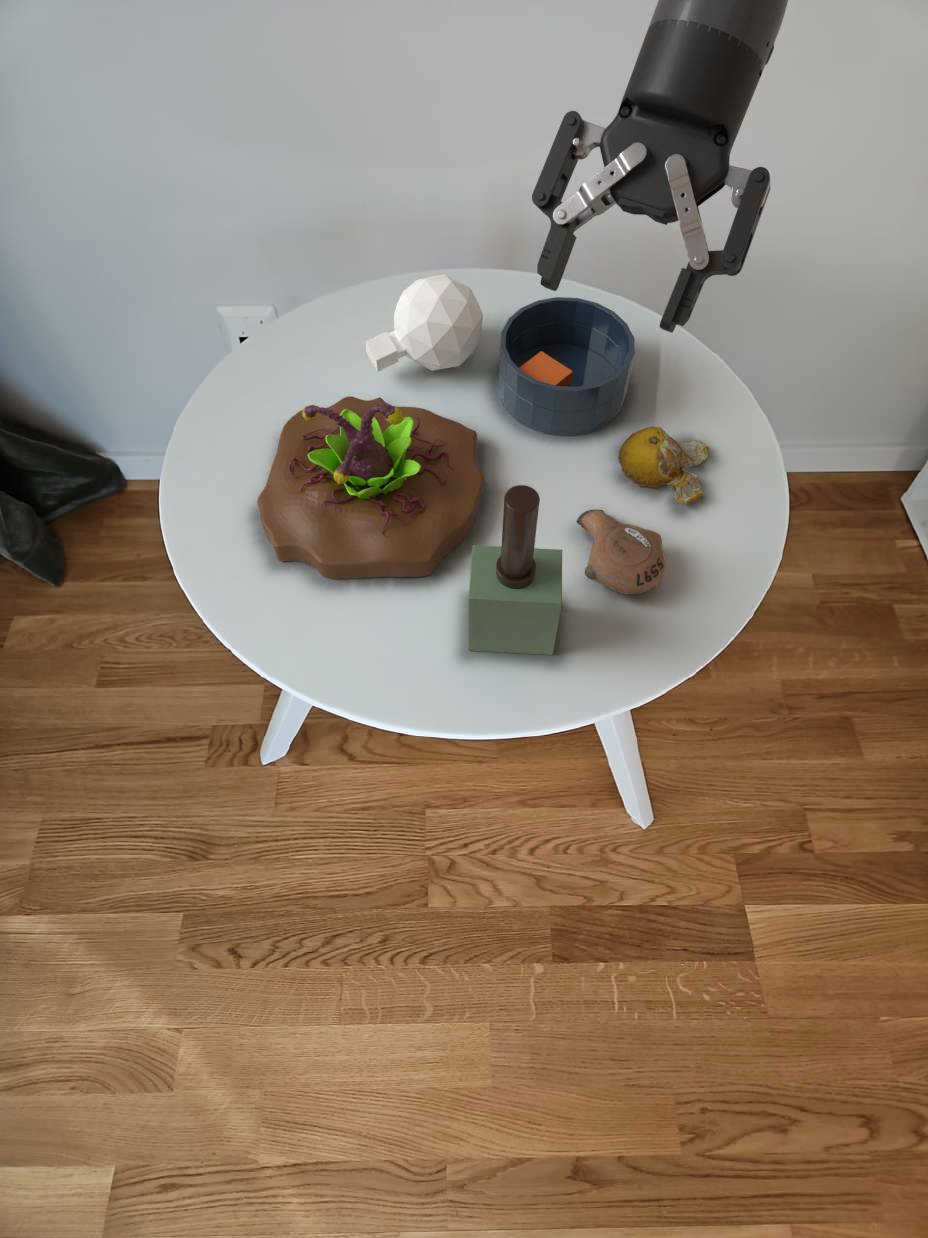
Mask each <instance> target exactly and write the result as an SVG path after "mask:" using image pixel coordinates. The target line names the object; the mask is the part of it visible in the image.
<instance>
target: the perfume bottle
mask: <svg viewBox="0 0 928 1238" xmlns="http://www.w3.org/2000/svg"><path fill="white" fill-rule="evenodd" d="M396 303H397V304H396V307H395V310H394V313H393V326H394V327H393V329H394V330H392V331H390V332H388V331H383V332H382V333H379V334H377V335H376V336H375V335H374V336H373V337H371V338H368V339H366V340H365V341H364V342H365V350H366V354H367V356H368V358H369V360H370V361H371V363H372V365H373V367H374V368H375V370H376V371H377V373H378V372H380V371H382V370H384V369H386V368H388V367H390V366H391V367H392V366H393V365H395V364H396V363H399V360H400V359H402V358H403V357H406V358H408V359H409V360H412V361H413V362H414V363H417V364H418V365H420V366H422V367H423V368H426V369H428V370H430V371H438V370H445V369H450V368H455V367H460V366H461V365H462V364H463V363H464V362H465V361H466V360H467V359H468V358H469V357H470V356H471V355H472V354H473V353H474V351H475V350H476V349H477V348H478V346H480V340H481V335H482V328H483V319H484V313H483V311H482V308H481V305H480V303H479V301H478V299H477V297H476V295H475V294H474V292H473V290H472V288H471V287H470V286H469V285H466V284H465V283H463V282H461V281H459V280H457V279H455V278H453V277H451V275H447V274H446V273H442V274H437V275H432V276H427V277H424V278H418V279H416V280H414V282H412V283H411V284H410V285H409V286H408V287H406V288H405V289H404V290H403V291H402V293H401V295H400V297H399V298H398V300H397V302H396Z"/></svg>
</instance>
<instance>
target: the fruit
mask: <svg viewBox="0 0 928 1238" xmlns="http://www.w3.org/2000/svg"><path fill="white" fill-rule="evenodd" d="M709 448H710V447H709V445H707V444H706V443H705V442H703V441H702V440H698V439H692V440H689V441H683V442H678V441H676V439H674V438H673V437H672V436H670V435H669V433H667V432H666V430H664V429H663V428H662V427H661V426H647V427H643V428H641V429H639V430H637V431H635V432H632V433H631V434H630V435H629V436H628V438H626V439H625V441H624V442H623V443H622V445H621V446H620V449H619V453H618V455H617V459H618V463H619V465H620V468H621V471H622V472H623V473H624V477H627V478H630V479H631V481H632V483H634V484H635V485H637V486H639V487H640V488H642V487H646V488H654V489H659V488H660V487H662V486H664V485H667V486H674V487H675V493H674V496H673V497H674V500H675V501H676V502H677V503H678V504H680V505H686V504H687V503H691V502H693V503H694V502H697V501H699V500H700V499H702V498H703V497H704V496H705V493H704V491H703V490H702V486H701V484H699V476H698V475H697V474H693V473H692V472H689V471H687V470H684V469H683V468H685V467H689V468H691V467H694V466H698V465H701V464H702V463H703V462H704V461H706V459H707V458H708V457H709V456H710V452H709Z"/></svg>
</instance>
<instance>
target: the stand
mask: <svg viewBox="0 0 928 1238" xmlns="http://www.w3.org/2000/svg"><path fill="white" fill-rule="evenodd" d="M500 556H501V546H499V545H497V546H496V545H480V544H479V545H477V544H473V545H472V546H471V560H470V574H469V587H468V588H469V589H468V612H467V613H468V614H467V615H468V616H467V617H468V620H467V623H468V627H467V628H468V631H467V635H468V636H467V650H468V651H471V652H473V651H474V652H490V653H491V652H492V653H510V654H525V655H527V654H529V655H542V656H543V655H546V656H553V655H554V651H555V645H556V640H557V633H558V628H559V623H560V617H561V611H562V606H563V550H562V549H557V548H556V549H554V548H537V547H534V555H533V558H534V560H535V563H536V572H535V578H534V580H533V581H532V583H531V584H530V585H528V586H527V587H525V588H521V589H511V588H508V587H506V586H504V585H502V584H501V583H500V582H499V580H498V579H497V576H496V564H497V560H498V558H499V557H500Z"/></svg>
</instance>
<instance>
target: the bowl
mask: <svg viewBox="0 0 928 1238" xmlns="http://www.w3.org/2000/svg"><path fill="white" fill-rule="evenodd" d="M635 343H636V342H635V336H634V334H633V333H632V331H631V329H630V326H629V325H628V323H627V322H626V321H625V320H624V319H623V318H622V317H621V316H619V315H618V314H617V313H616V312H615V311H614V310H612V309H610V308H608V307H606V306H604V305H603V304H600V303H598V302H596V301H591V300H587V299H585V298H584V299H583V298H580V297H566V296H565V297H564V296H563V297H562V296H555V297H550V298H545V299H539V300H536V301H533V302H530V303H528V304H527V305H525V306H522V307H521V308H519V309H518V310H517V311H516V312H514V313H513V314H512V315H511V316H510V317H508V319H507V321H506V322H505V324H504V326H503V328H502V330H501V331H500V344H499V365H498V368H499V369H498V371H499V372H498V385H497V386H498V394H499V398H500V402H501V403H502V405H503V407H504V409H505V410H506V411H507V413H508V414H509V415H510V416H511V417H512V418H514V420H515V421H517V422H518V423H520V424H521V425H523V426H525V427H526V428H528V429H530V430H532V431H536V432H539V433H542V434H546V435H550V436H560V437H573V436H580V435H584V434H589V433H591V432H594V431H597V430H599V429H601V428H603V427H605V426H606V425H608V424H609V423H610V422H611V421H613V420H614V419H615V418H616V416H617V415H618V414H619V413H620V411H621V409H622V407H623V405H624V402H625V399H626V396H627V392H628V387H629V383H630V378H631V374H632V368H633V364H634V359H635V354H636V345H635ZM541 351H542V352H544V353H545V354H547V355H548V356H550V357H552V358H553V359H555V360H556V361H558V362H559V363H561V364H562V365H564V366H566V367H567V368H569V369H570V370H572V371H573V375H572V382H571V387H569V386H555V385H552V384H548V383H545V382H541V381H538V380H536V379H534V378H533V377H531V376H529V375H527V374H526V373H524V372H522V371H521V370H520V369H519V368H520V367H521V366H522V365H524V364H525V363H526V362H528V361H529V360H530V359H531V358H533V357H534V356H535V355H537V354H538V353H539V352H541Z"/></svg>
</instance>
